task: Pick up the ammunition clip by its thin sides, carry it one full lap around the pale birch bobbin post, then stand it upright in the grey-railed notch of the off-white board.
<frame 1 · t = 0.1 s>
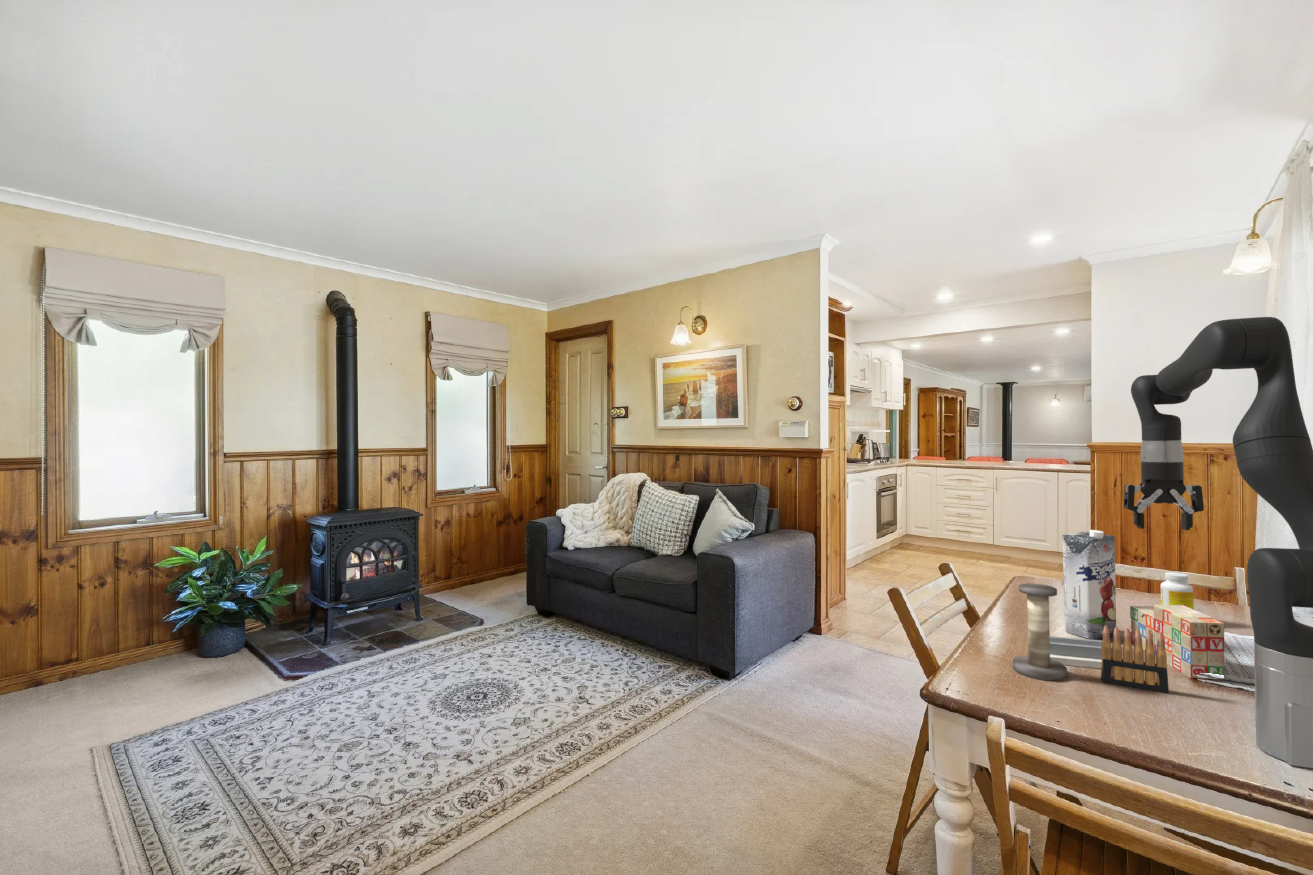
hand: (1163, 529, 136), 29 cm above the table, tool pointing down, fingers open, 8 cm apart
stack of blocks: (1174, 661, 132), on the table
juice carton: (1090, 634, 150), on the table
supplement bottle: (1177, 621, 158), on the table
bobbin post: (1039, 671, 128), on the table
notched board: (1078, 659, 134), on the table
ammunition clip: (1134, 687, 119), on the table
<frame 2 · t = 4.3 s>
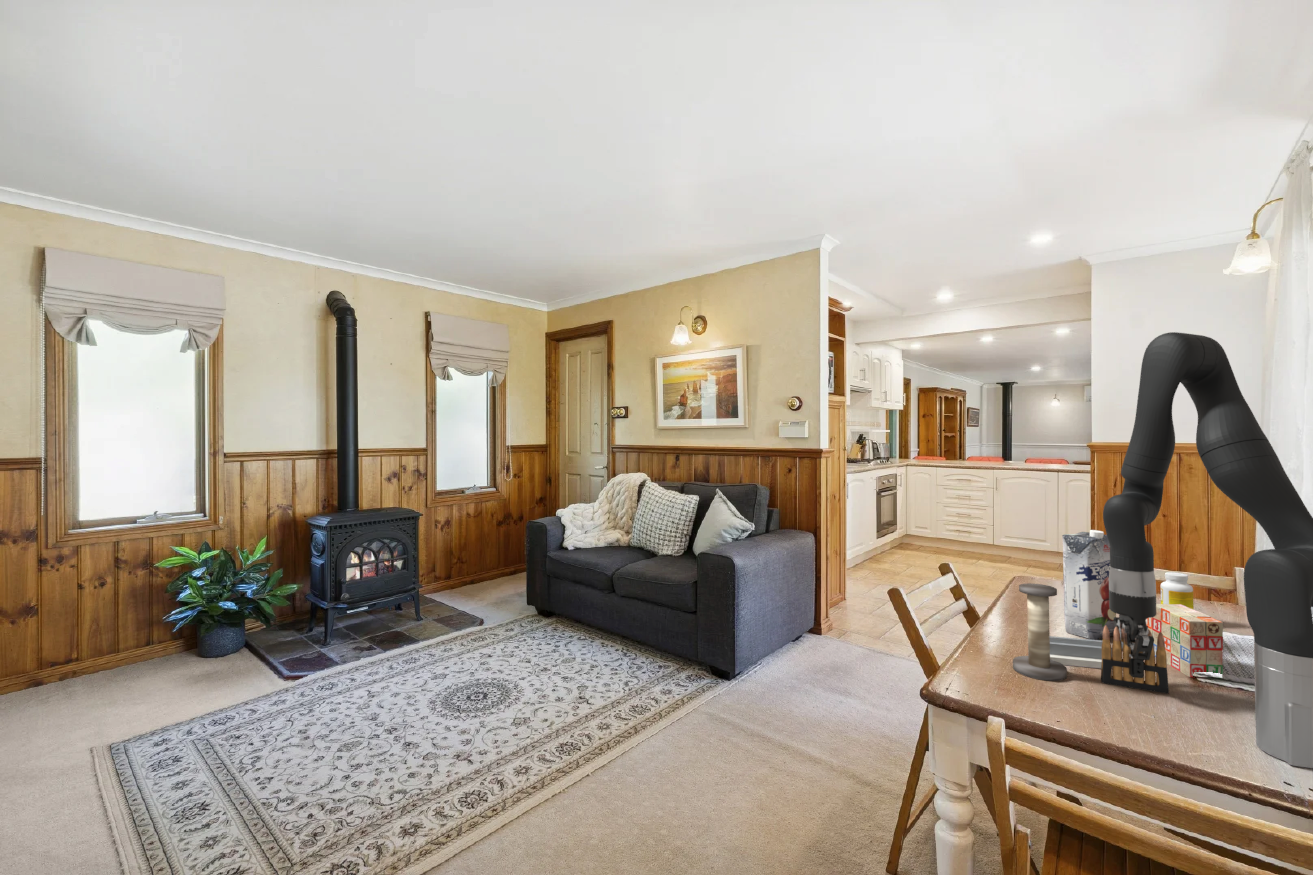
hand: (1133, 673, 119), 3 cm above the table, tool pointing down, fingers closed on ammunition clip, 2 cm apart
ammunition clip: (1133, 687, 119), on the table, touching gripper
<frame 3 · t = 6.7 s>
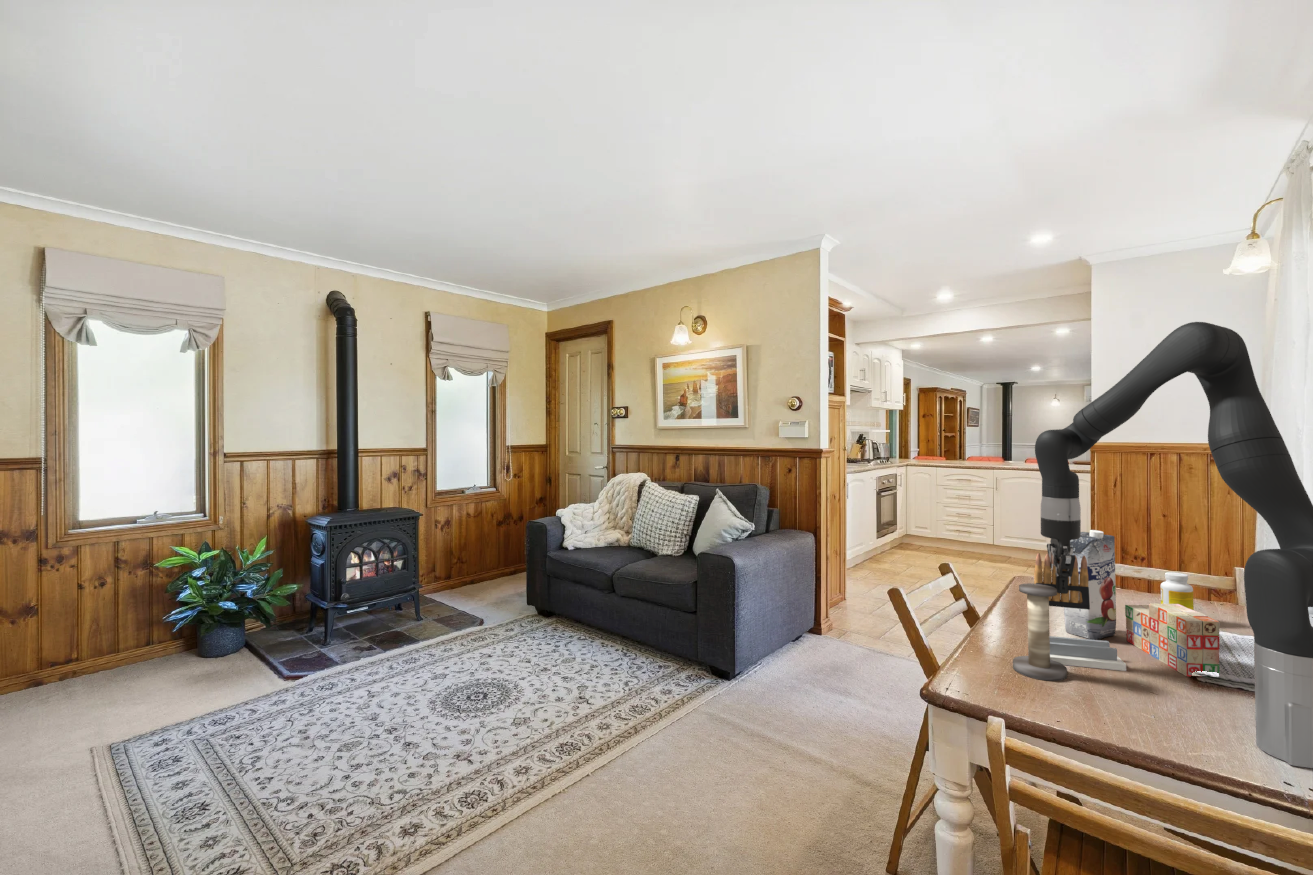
hand: (1060, 591, 133), 16 cm above the table, tool pointing down, fingers closed on ammunition clip
ammunition clip: (1060, 606, 133), point 12 cm above the table, touching gripper
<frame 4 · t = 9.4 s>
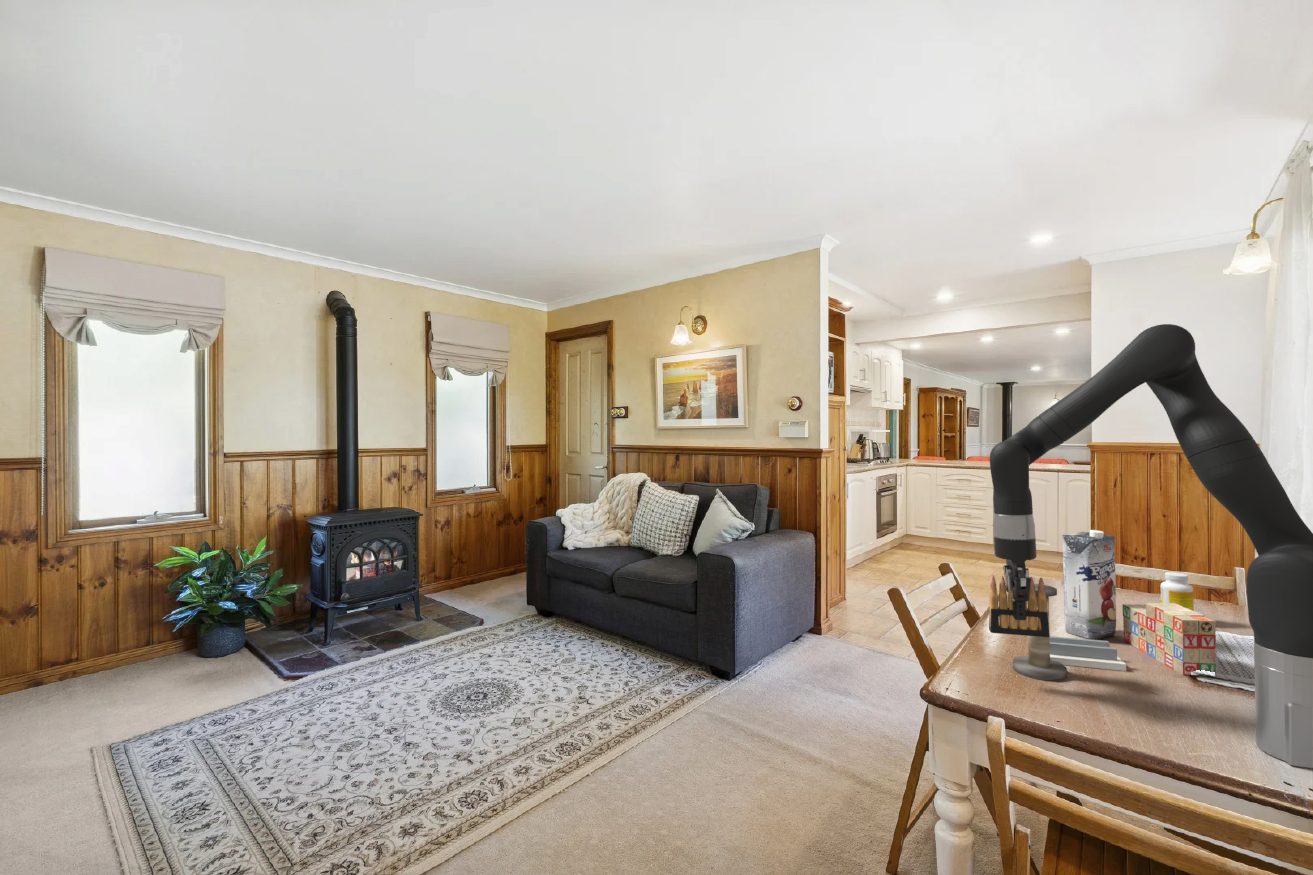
hand: (1018, 617, 122), 14 cm above the table, tool pointing down, fingers closed on ammunition clip
ammunition clip: (1018, 634, 122), point 10 cm above the table, touching gripper
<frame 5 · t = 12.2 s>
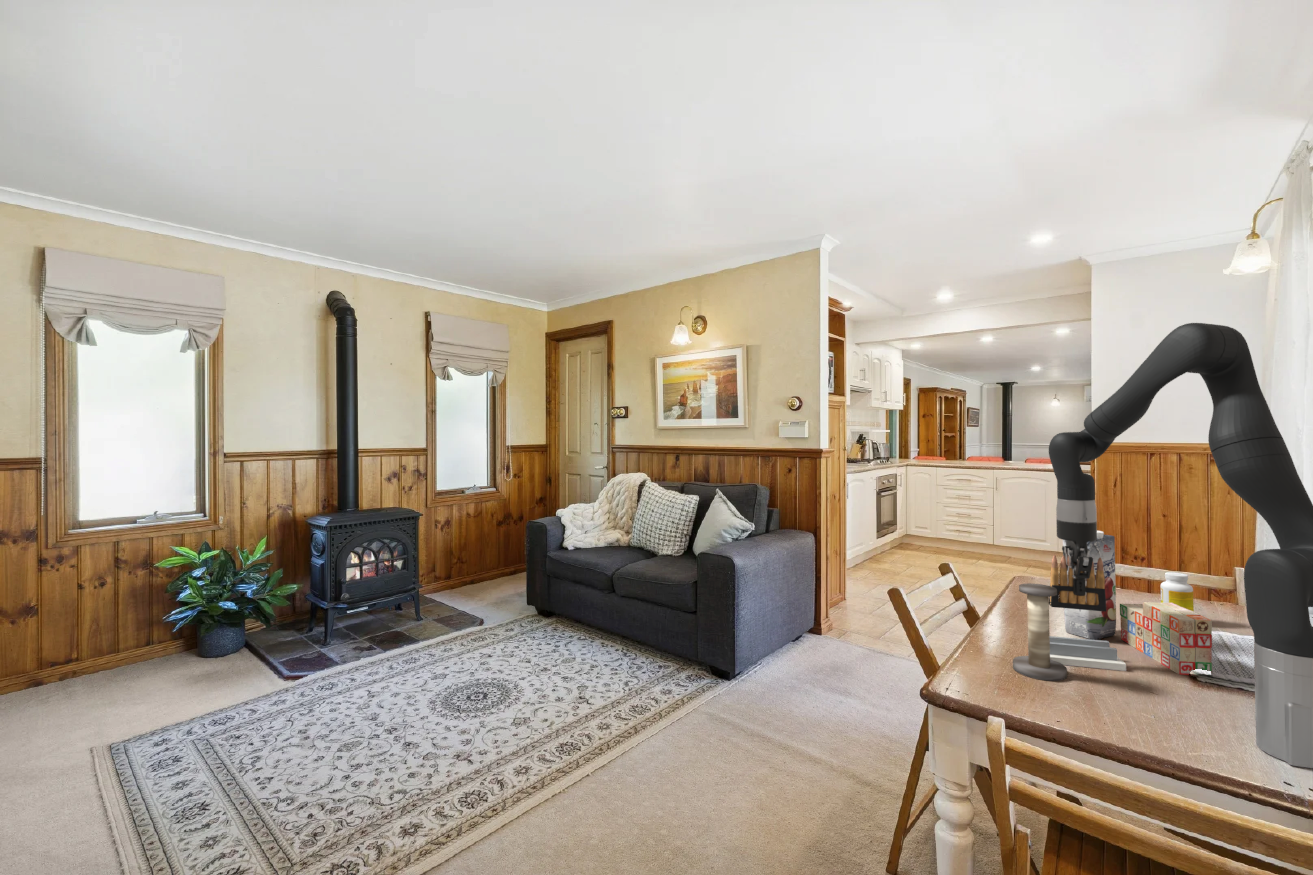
hand: (1077, 593, 134), 15 cm above the table, tool pointing down, fingers closed on ammunition clip
ammunition clip: (1077, 608, 134), point 12 cm above the table, touching gripper
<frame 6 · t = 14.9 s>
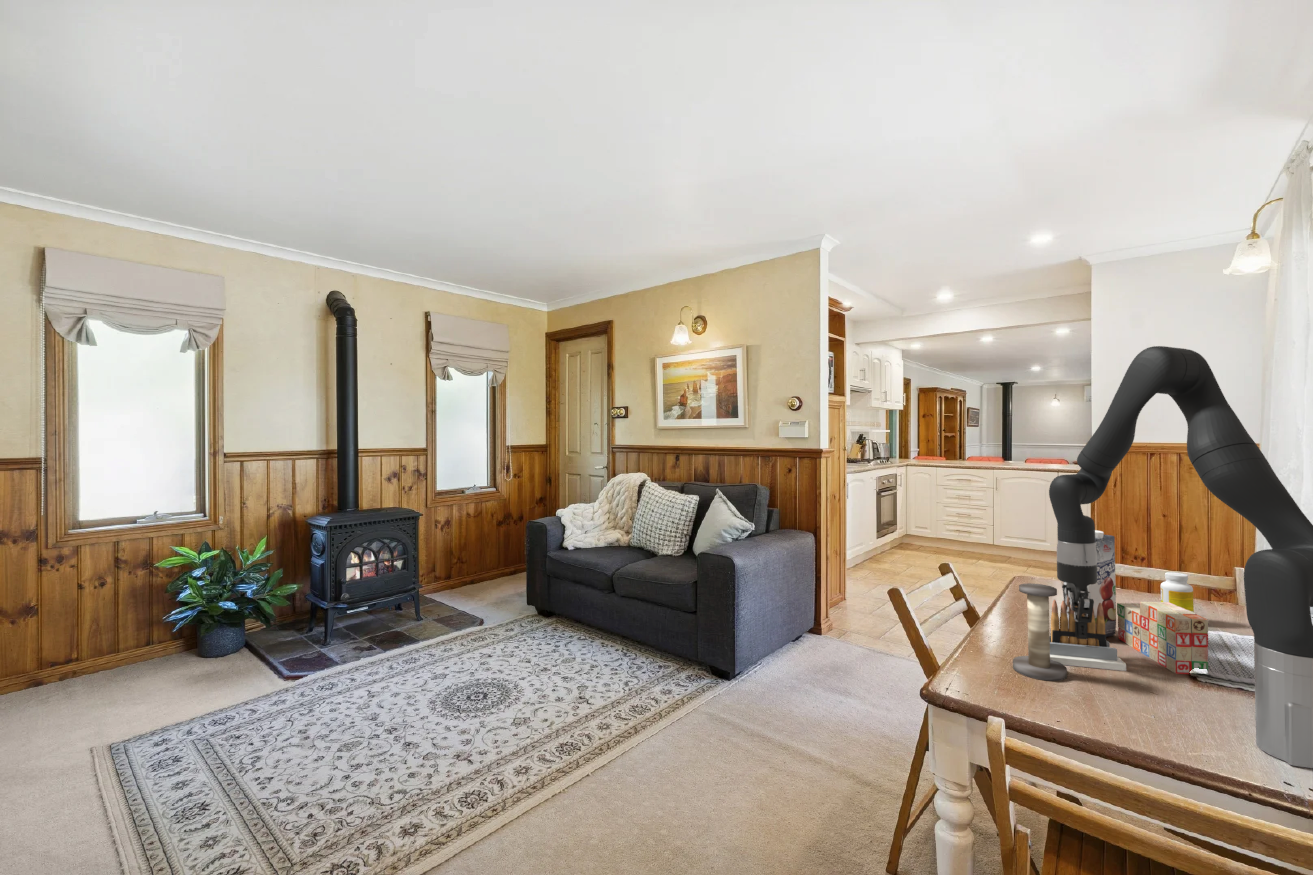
hand: (1078, 634, 134), 6 cm above the table, tool pointing down, fingers open, 4 cm apart
ammunition clip: (1078, 654, 134), point 1 cm above the table, touching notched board
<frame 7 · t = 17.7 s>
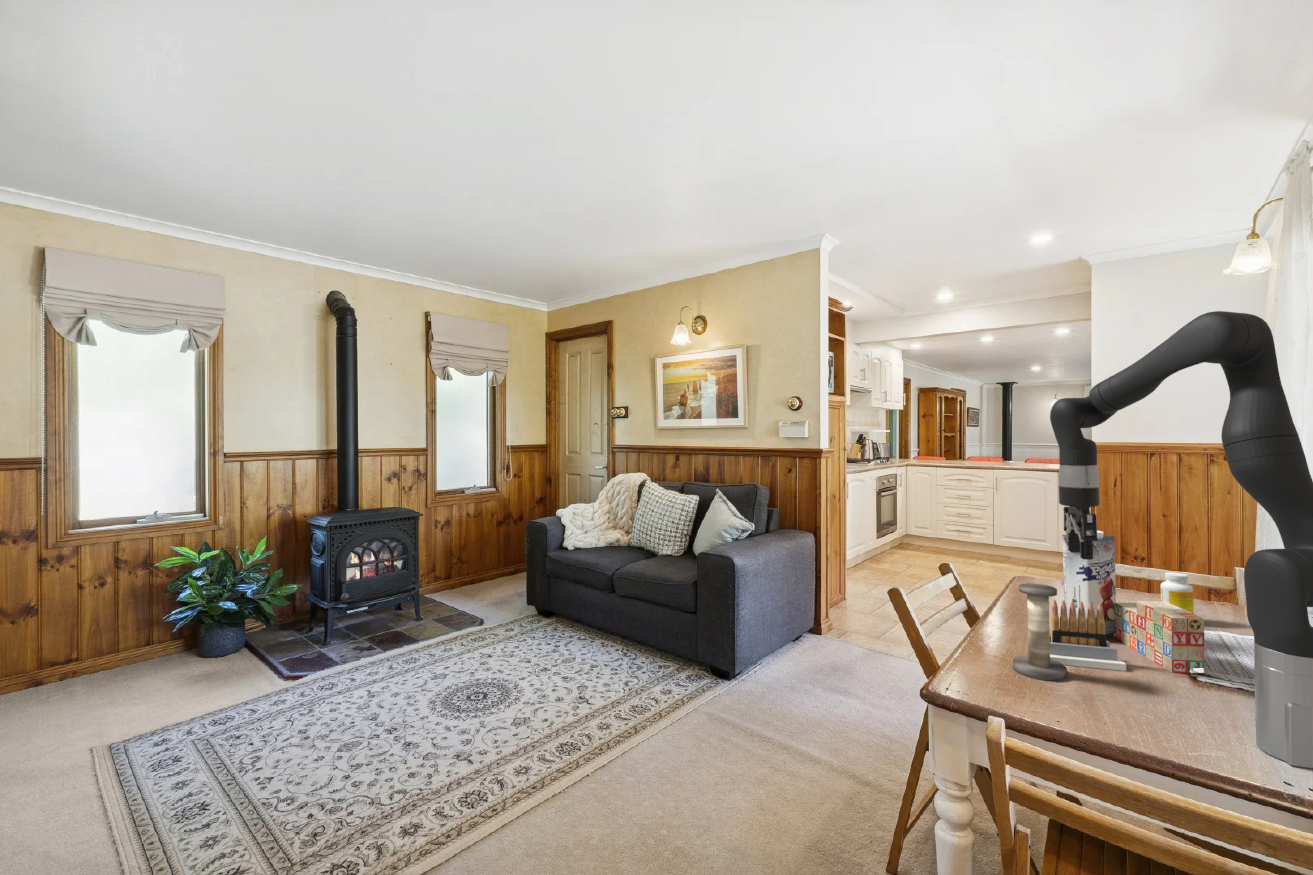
hand: (1080, 555, 133), 24 cm above the table, tool pointing down, fingers open, 8 cm apart
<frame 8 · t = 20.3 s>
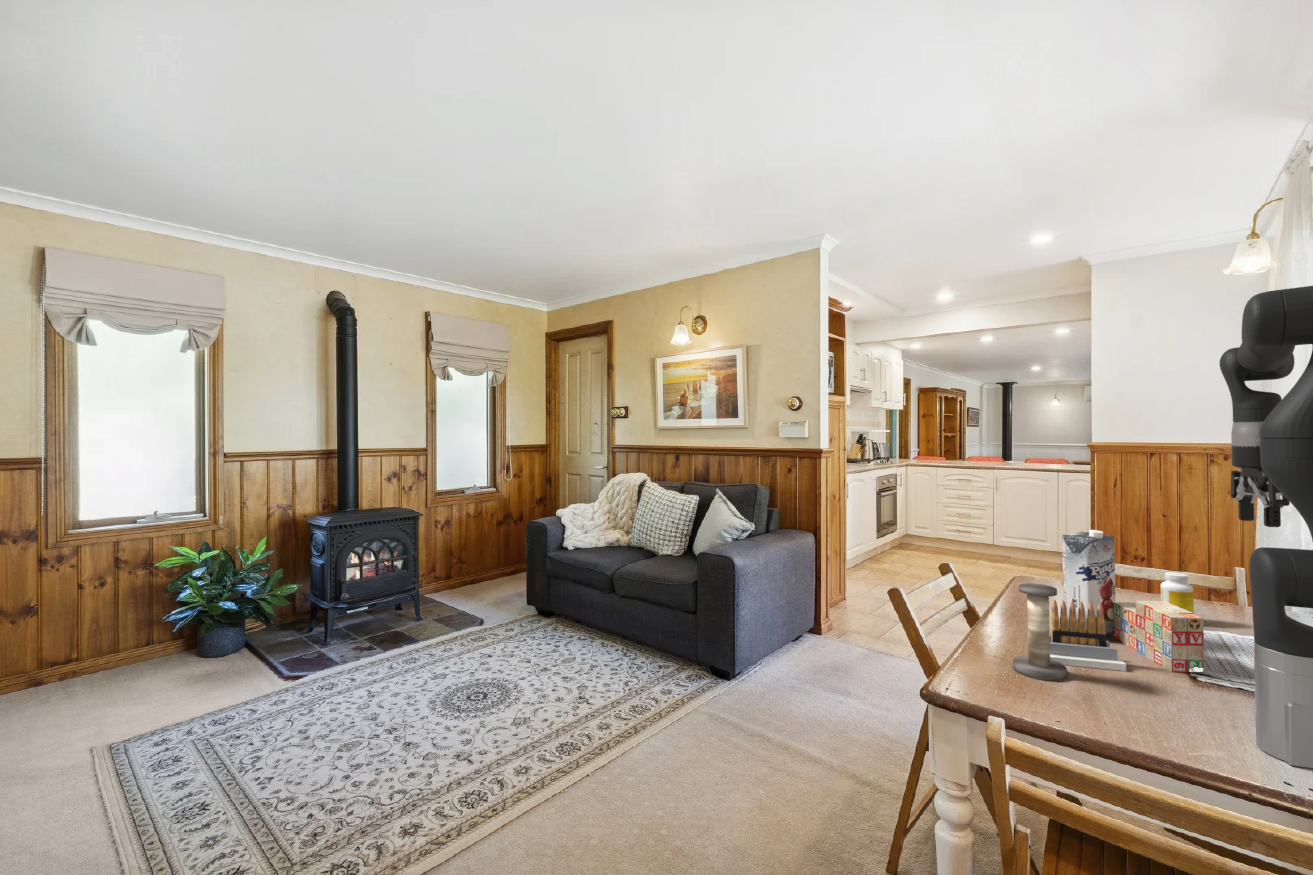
hand: (1258, 523, 118), 33 cm above the table, tool pointing down, fingers open, 8 cm apart
at the end: ammunition clip 0.2 cm off-centre on the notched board, point 1.3 cm above the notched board's base; ammunition clip tilted 0°; the gripper is holding nothing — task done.
